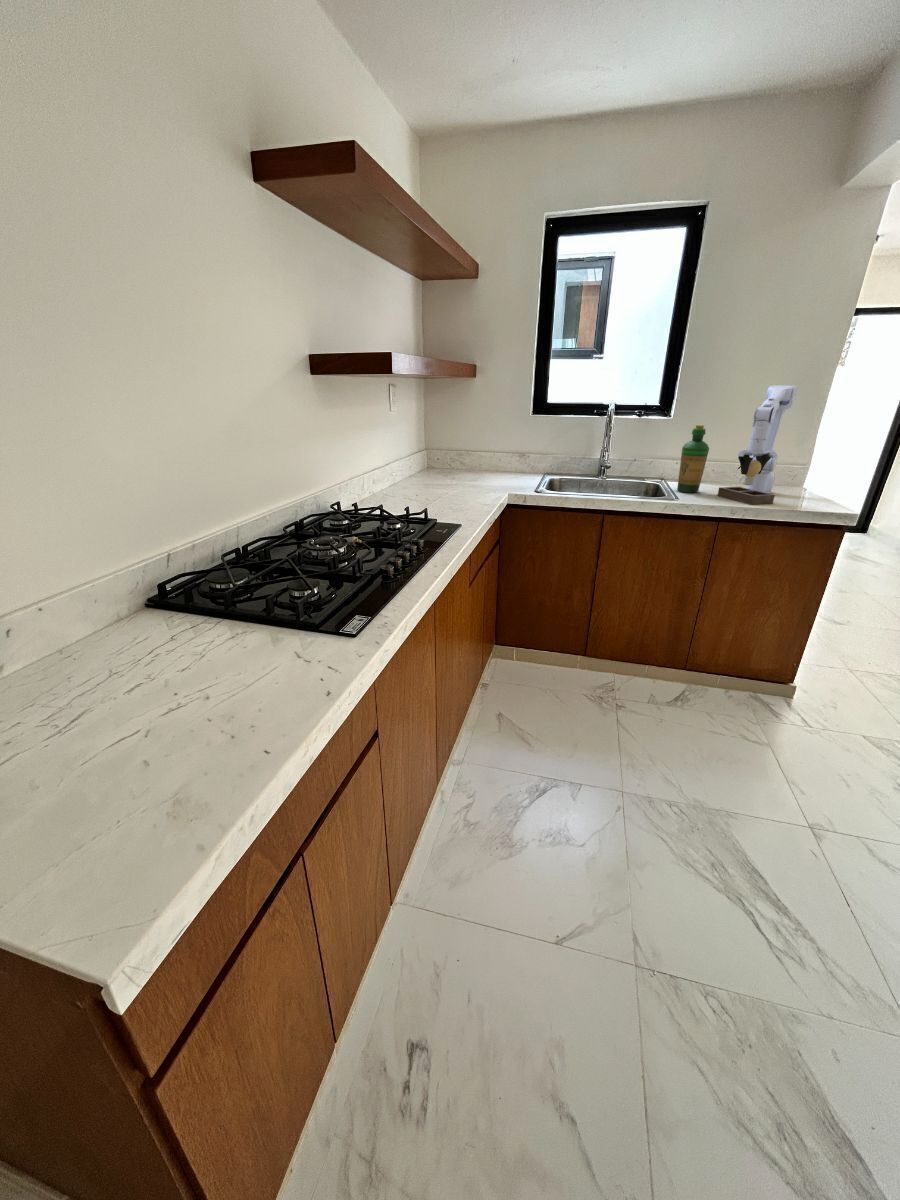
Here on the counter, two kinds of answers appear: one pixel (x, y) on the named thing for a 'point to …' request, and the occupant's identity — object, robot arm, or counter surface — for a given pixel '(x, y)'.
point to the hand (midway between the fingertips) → (750, 474)
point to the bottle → (693, 462)
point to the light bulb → (752, 472)
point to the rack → (746, 495)
